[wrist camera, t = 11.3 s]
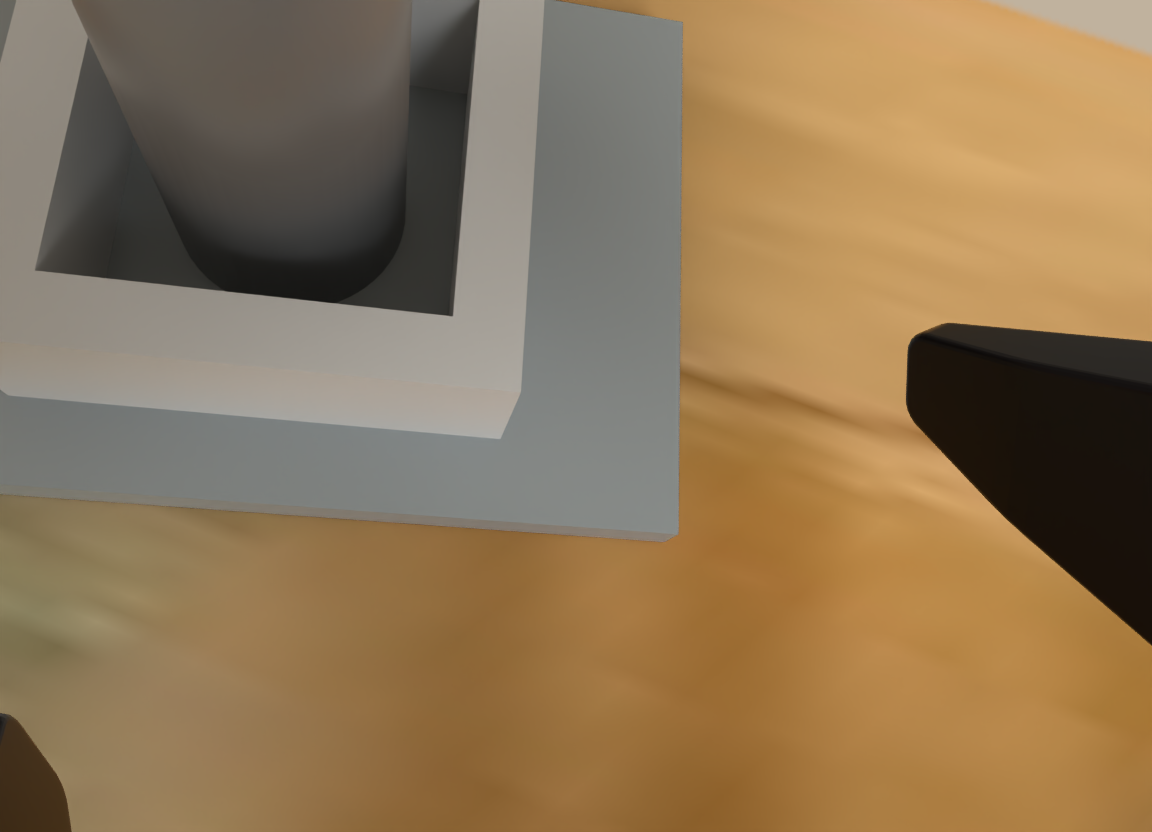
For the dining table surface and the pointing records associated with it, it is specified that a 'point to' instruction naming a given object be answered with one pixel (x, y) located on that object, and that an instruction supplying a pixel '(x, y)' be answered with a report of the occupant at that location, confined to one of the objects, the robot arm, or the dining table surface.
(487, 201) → the dock
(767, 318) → the dining table surface
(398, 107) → the peg
